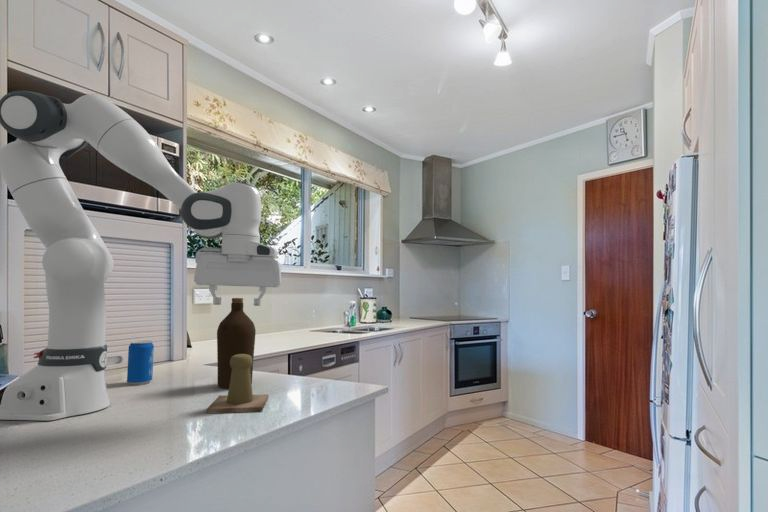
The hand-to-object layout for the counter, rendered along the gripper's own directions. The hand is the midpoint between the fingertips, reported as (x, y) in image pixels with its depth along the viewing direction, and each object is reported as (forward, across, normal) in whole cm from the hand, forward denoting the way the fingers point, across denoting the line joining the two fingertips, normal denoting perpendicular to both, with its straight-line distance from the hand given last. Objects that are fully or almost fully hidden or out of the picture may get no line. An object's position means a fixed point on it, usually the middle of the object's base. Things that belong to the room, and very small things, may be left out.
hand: (237, 305), depth 107 cm
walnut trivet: (+24, +2, 0) cm, 24 cm away
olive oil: (+24, -3, +22) cm, 33 cm away
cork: (+23, +2, 0) cm, 23 cm away
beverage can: (+25, -31, +28) cm, 49 cm away
